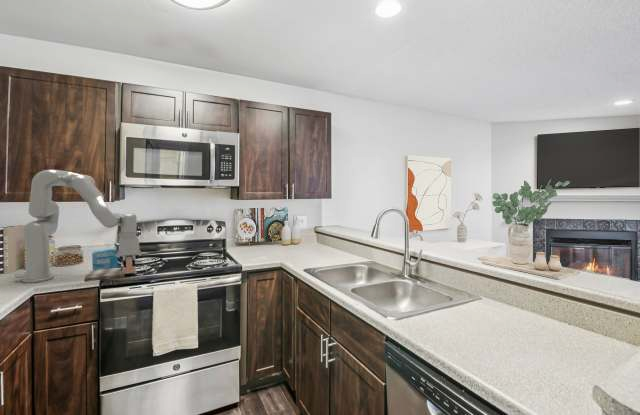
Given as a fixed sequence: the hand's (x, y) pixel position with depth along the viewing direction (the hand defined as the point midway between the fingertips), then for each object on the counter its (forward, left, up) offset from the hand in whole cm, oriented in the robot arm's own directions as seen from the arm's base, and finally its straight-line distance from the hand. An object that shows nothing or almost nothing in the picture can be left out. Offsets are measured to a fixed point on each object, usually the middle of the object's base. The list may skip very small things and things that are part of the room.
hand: (129, 266), depth 178 cm
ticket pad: (-11, 0, -5) cm, 12 cm away
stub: (0, 0, -3) cm, 3 cm away
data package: (-12, +19, -5) cm, 23 cm away
